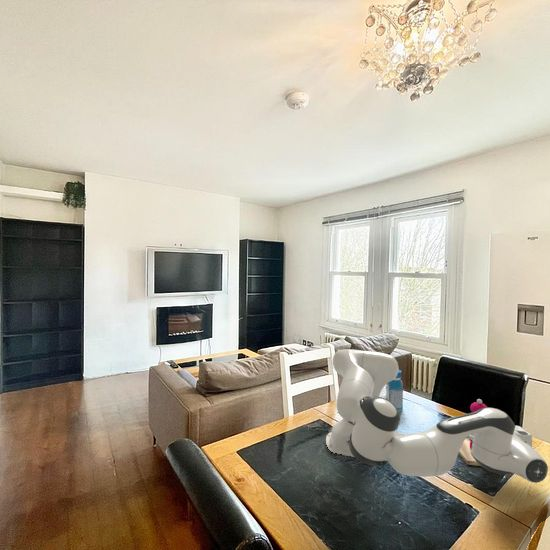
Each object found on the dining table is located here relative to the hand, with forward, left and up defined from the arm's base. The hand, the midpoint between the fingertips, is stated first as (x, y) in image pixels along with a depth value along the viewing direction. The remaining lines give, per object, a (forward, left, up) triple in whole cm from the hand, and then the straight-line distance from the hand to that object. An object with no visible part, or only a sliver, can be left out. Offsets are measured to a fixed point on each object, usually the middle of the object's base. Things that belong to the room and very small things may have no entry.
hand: (482, 421), depth 117 cm
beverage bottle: (-23, +38, -13) cm, 46 cm away
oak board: (0, +2, -13) cm, 13 cm away
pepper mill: (0, +1, -12) cm, 12 cm away
